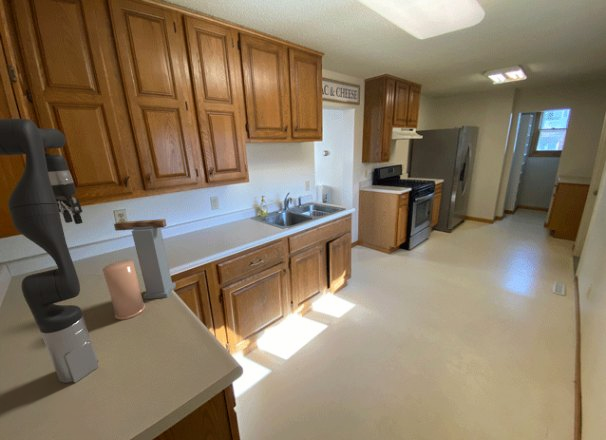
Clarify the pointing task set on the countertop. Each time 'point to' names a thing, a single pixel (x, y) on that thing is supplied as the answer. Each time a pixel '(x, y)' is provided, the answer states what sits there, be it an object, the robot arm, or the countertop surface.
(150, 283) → the tall gray pillar
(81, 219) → the robot arm
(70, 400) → the countertop surface
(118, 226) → the brown wooden bar
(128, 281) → the crock
